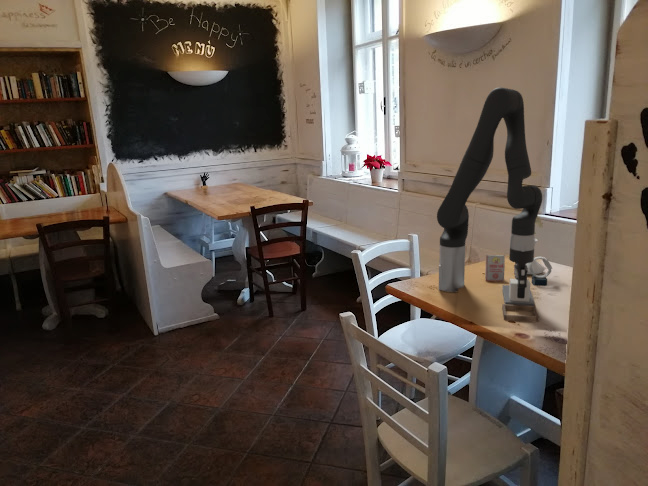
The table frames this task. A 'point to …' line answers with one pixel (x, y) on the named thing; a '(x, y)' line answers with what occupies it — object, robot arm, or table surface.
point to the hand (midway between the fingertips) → (519, 293)
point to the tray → (520, 317)
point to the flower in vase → (536, 265)
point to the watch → (540, 279)
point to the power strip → (509, 302)
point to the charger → (514, 288)
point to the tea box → (495, 267)
